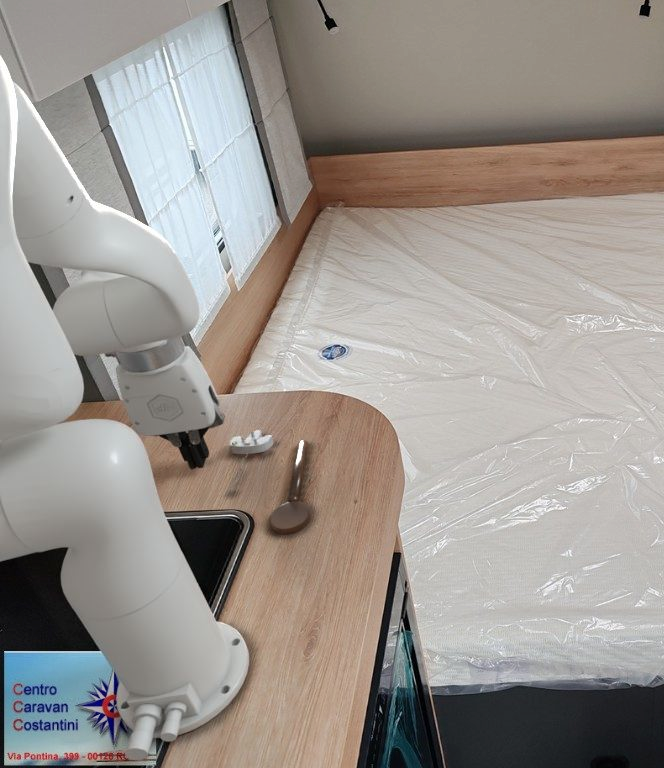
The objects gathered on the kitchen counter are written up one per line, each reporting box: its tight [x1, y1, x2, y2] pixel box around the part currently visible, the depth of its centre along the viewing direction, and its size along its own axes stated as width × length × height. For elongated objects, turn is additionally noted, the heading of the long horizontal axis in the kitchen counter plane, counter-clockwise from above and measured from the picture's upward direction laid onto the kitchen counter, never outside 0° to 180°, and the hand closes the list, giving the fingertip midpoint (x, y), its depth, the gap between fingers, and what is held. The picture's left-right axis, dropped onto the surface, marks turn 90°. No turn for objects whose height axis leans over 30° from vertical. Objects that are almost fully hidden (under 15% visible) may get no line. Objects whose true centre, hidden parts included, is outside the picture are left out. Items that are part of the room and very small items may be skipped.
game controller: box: [229, 429, 275, 495], centre depth 103 cm, size 6×12×3 cm, turn 16°
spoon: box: [270, 439, 312, 535], centre depth 98 cm, size 17×5×1 cm, turn 7°
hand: (199, 461), depth 103 cm, fingers closed
